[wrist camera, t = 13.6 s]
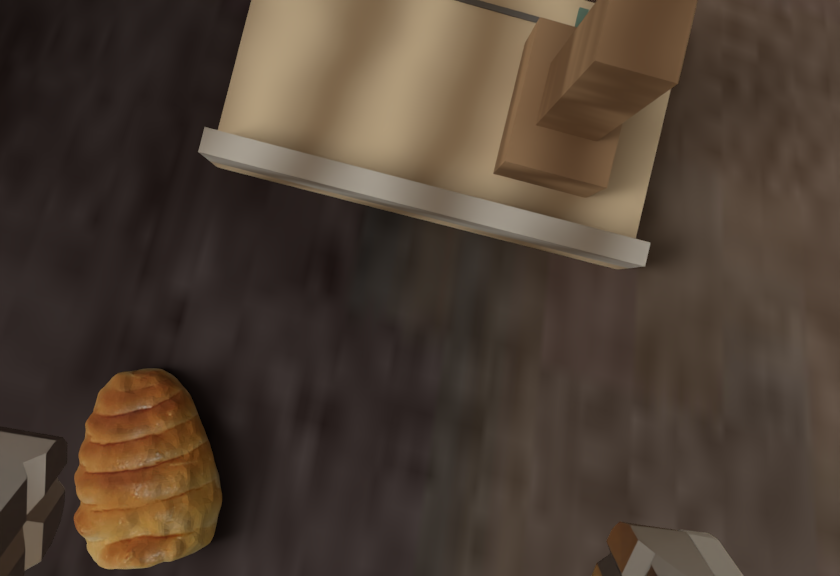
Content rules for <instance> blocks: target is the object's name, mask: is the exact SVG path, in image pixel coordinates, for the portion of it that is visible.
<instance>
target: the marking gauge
mask: <svg viewBox="0 0 840 576" xmlns="http://www.w3.org/2000/svg"><path fill="white" fill-rule="evenodd" d="M697 1H698V0H597V1H596V3H595V4H594V5H593V7H592V8H591V9H590V11H589V12H588V13H587V15H586V16H585V17H584V19H583V20H582V22H581V23H580V24H579V26H578V27H574V26H570V25H567V24H563V23H560V22H556V21H552V20H549V19H545V18H542V17H540V18H539V19H538V21H537V23H536V25H535V26H534V28H533V30H532V32H531V33H530V35H529V37H528V38H527V40H526V42H525V45H524V49H523V53H522V57H521V61H520V65H519V69H518V73H517V77H516V82H515V86H514V90H513V94H512V98H511V102H510V106H509V110H508V114H507V118H506V123H505V127H504V131H503V135H502V139H501V143H500V147H499V151H498V155H497V160H496V164H495V168H494V172H493V174H496V175H500V176H504V177H508V178H511V179H515V180H519V181H523V182H527V183H530V184H534V185H538V186H542V187H546V188H550V189H553V190H557V191H561V192H565V193H569V194H573V195H576V196H580V197H584V198H587V197H589V196H591V195H593V194H595V193H597V192H599V191H602V190H604V189H606V188H607V186H608V182H609V177H610V173H611V169H612V165H613V161H614V156H615V152H616V148H617V144H618V140H619V135H620V131H621V127H622V123H623V122H625V121H626V120H628V119H629V118H630V117H632V116H633V115H635V114H636V113H637V112H639V111H640V110H642V109H643V108H644V107H646V106H647V105H649V104H650V103H652V102H653V101H654V100H656V99H657V98H659V97H660V96H661V95H663V94H664V93H666V92H667V91H668V90H670V89H671V88H673V87H674V86H675V85H677V84H678V82H679V78H680V73H681V69H682V65H683V61H684V56H685V52H686V48H687V44H688V39H689V35H690V31H691V27H692V22H693V18H694V14H695V10H696V5H697Z"/></svg>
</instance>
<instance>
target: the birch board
mask: <svg viewBox="0 0 840 576" xmlns="http://www.w3.org/2000/svg"><path fill="white" fill-rule="evenodd" d="M594 4H595V3H593V2H589V1H585V0H251V4H250V8H249V12H248V15H247V19H246V23H245V27H244V31H243V35H242V39H241V42H240V46H239V50H238V54H237V58H236V62H235V66H234V70H233V73H232V77H231V81H230V85H229V89H228V93H227V97H226V100H225V104H224V108H223V112H222V116H221V120H220V124H219V128H218V130H214V129H210V128H206V127H205V128H204V132H203V136H202V140H201V143H200V147H199V151H198V152H199V153H200V154H202V155H203V156H204V157H205V158H207V159H208V160H209V161H210V162H212V163H213V164H214V165H215V166H216V167H218V168H222V169H226V170H230V171H234V172H238V173H242V174H245V175H249V176H253V177H257V178H261V179H265V180H269V181H273V182H277V183H281V184H285V185H288V186H292V187H296V188H300V189H304V190H308V191H312V192H316V193H320V194H324V195H328V196H332V197H335V198H339V199H343V200H347V201H351V202H355V203H359V204H363V205H367V206H371V207H375V208H378V209H382V210H386V211H390V212H394V213H398V214H402V215H406V216H410V217H414V218H418V219H422V220H425V221H429V222H433V223H437V224H441V225H445V226H449V227H453V228H457V229H461V230H465V231H468V232H472V233H476V234H480V235H484V236H488V237H492V238H496V239H500V240H504V241H508V242H512V243H515V244H519V245H523V246H527V247H531V248H535V249H539V250H543V251H547V252H551V253H555V254H559V255H562V256H566V257H570V258H574V259H578V260H582V261H586V262H590V263H594V264H598V265H602V266H605V267H609V268H613V269H617V270H618V269H627V268H636V267H645V264H646V260H647V256H648V252H649V247H650V242H646V241H642V240H638V239H636V235H637V231H638V226H639V222H640V218H641V214H642V210H643V205H644V201H645V197H646V193H647V188H648V184H649V180H650V176H651V171H652V167H653V163H654V159H655V155H656V150H657V146H658V142H659V138H660V133H661V129H662V125H663V121H664V117H665V112H666V108H667V104H668V100H669V95H670V91H671V89H670V90H668V91H667V92H666V93H664V94H663V95H661V96H660V97H659V98H657V99H656V100H654V101H653V102H652V103H650V104H649V105H647V106H646V107H644V108H643V109H642V110H640V111H639V112H637V113H636V114H635V115H633V116H632V117H630V118H629V119H628V120H626V121H625V122H623V123H622V127H621V131H620V135H619V140H618V144H617V148H616V152H615V156H614V161H613V165H612V169H611V173H610V177H609V182H608V186H607V188H606V189H604V190H602V191H599V192H597V193H595V194H593V195H591V196H589V197H587V198H584V197H580V196H576V195H573V194H569V193H565V192H561V191H557V190H553V189H550V188H546V187H542V186H538V185H534V184H530V183H527V182H523V181H519V180H515V179H511V178H508V177H504V176H500V175H496V174H493V172H494V168H495V164H496V160H497V155H498V151H499V147H500V143H501V139H502V135H503V131H504V127H505V123H506V118H507V114H508V110H509V106H510V102H511V98H512V94H513V90H514V86H515V82H516V77H517V73H518V69H519V65H520V61H521V57H522V53H523V49H524V45H525V42H526V40H527V38H528V37H529V35H530V33H531V32H532V30H533V28H534V26H535V25H536V23H537V21H538V19H539V18H540V17H542V18H545V19H549V20H552V21H556V22H560V23H563V24H567V25H570V26H574V27H578V26H579V24H580V23H581V22H582V20H583V19H584V17H585V16H586V15H587V13H588V12H589V11H590V9H591V8H592V7H593V5H594Z"/></svg>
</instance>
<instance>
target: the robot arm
mask: <svg viewBox="0 0 840 576" xmlns="http://www.w3.org/2000/svg"><path fill="white" fill-rule="evenodd" d="M66 464H67V442H66V440H65V439H64V438H63V437H59V436H53V435H47V434H41V433H36V432H30V431H24V430H18V429H12V428H7V427H1V426H0V576H24V572H25V570H27V569H28V568H30V567H32V566H34V565H35V564H37V563H39V562H41V561H42V559H43V557H44V556H45V554H46V552H47V551H48V549H49V547H50V546H51V544H52V542H53V539H54V537H55V534H56V532H57V529H58V527H59V524H60V522H61V517H62V513H63V508H64V502H65V488H64V487H63V486H62V484H61V483H60V482H59V480H58V479H57V477H58V475H59V474H60V472H61V471H62V470H63V468H64V467H65V465H66ZM607 544H608V547H609V550H610V552H611V553H610V554H609V555H608V556H606V557H605V558H603V559H602V560H600V561H599V562H598V563H597V564H596V566H595V569H594V571H593V574H592V576H743V574H742V573H741V572H740V570H739V569H738V567H737V566H736V564H735V563H734V562H733V560H732V559H731V557H730V556H729V555H728V553H727V552H726V550H725V549H724V547H723V546H722V545H721V543H720V542H719V540H718V539H716V538H715V537H714V536H712V535H711V534H709V533H705V532H697V531H688V530H680V529H679V530H673V529H666V528H660V527H653V526H646V525H639V524H632V523H625V522H619V523H618V524H617V525H616V526H615V527H614V528H613V529H612V531H611V533H610V535H609V537H608V539H607Z"/></svg>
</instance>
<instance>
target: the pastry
mask: <svg viewBox="0 0 840 576" xmlns="http://www.w3.org/2000/svg"><path fill="white" fill-rule="evenodd" d="M85 427H86V432H85V440H84V442H83V443H82V445H81V448H80V451H79V460H80V465H79V467H78V469H77V471H76V473H75V484H76V492H77V495H78V497H79V499H80V500H81V505H80V507H79V508H78V510H77V512H76V513H75V515H74V523H75V527H76V529H77V531H78V532H79V533H80V534H81V535H82V536H83V537H84V538H85V539H86V541H87V550H88V552H89V553H90V555H91V556H92V558H93V560H94V561H95V562H97V564H98V565H99V566H101V567H103V568H105V569H135V568H147V567H151V566H154V565H156V564H159V563H161V562H171V561H173V560H176V559H179V558H182V557H185V556H187V555H190V554H192V553H195V552H196V551H198V550H200V549H201V548H203V547H205V546H206V545H208V544H209V543H210V542H211V540H212V538H213V536H214V533H215V529H216V524H217V519H218V514H219V511H220V508H221V504H222V492H221V486H220V479H219V473H218V470H217V468H216V465H215V462H214V457H213V453H212V449H211V446H210V442H209V440H208V438H207V435H206V432H205V429H204V427H203V425H202V423H201V420H200V418H199V415H198V412H197V410H196V407H195V404H194V402H193V400H192V398H191V396H190V394H189V392H188V391H187V390H186V389H185V388H184V387H183V386H182V384H181V383H180V382H179V381H178V379H177V378H176V377H174V376H173V375H172V374H170V373H168V372H166V371H165V370H163V369H158V368H154V369H151V368H147V369H141V370H136V371H127V372H121V373H118V374H116V375H115V376H114V377H112V379H111V380H110V381H109V382H108V383H107V384H106V386H105V387H103V388H102V389H101V390H100V392H99V393H98V396H97V401H96V404H95V407H94V411H93V413H92V414H91V415H90V417H89V418H88V420H87V421H86V423H85Z"/></svg>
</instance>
